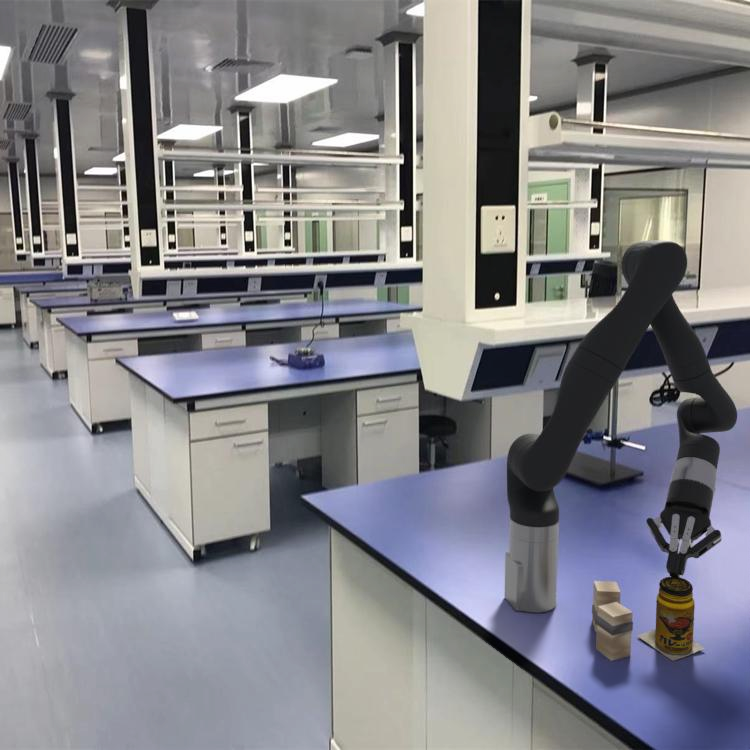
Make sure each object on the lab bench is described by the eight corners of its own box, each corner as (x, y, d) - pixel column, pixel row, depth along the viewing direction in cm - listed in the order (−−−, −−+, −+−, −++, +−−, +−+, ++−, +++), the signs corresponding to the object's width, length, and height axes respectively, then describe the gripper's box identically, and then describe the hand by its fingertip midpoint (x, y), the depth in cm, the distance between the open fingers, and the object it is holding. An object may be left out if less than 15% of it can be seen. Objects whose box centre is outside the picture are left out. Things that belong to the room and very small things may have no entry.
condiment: (673, 661, 124) (676, 597, 121) (636, 636, 132) (638, 575, 129) (705, 649, 127) (708, 586, 124) (667, 625, 134) (670, 565, 132)
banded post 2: (611, 661, 124) (613, 617, 123) (595, 649, 128) (596, 606, 127) (631, 656, 126) (633, 612, 125) (614, 643, 130) (616, 601, 128)
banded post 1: (595, 632, 134) (596, 591, 132) (591, 620, 138) (593, 580, 136) (619, 633, 133) (621, 592, 132) (614, 622, 137) (616, 581, 136)
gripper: (651, 472, 136) (631, 558, 128) (730, 483, 129) (714, 575, 121) (656, 492, 141) (637, 576, 133) (732, 504, 134) (717, 593, 126)
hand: (674, 575), depth 127 cm, fingers closed
